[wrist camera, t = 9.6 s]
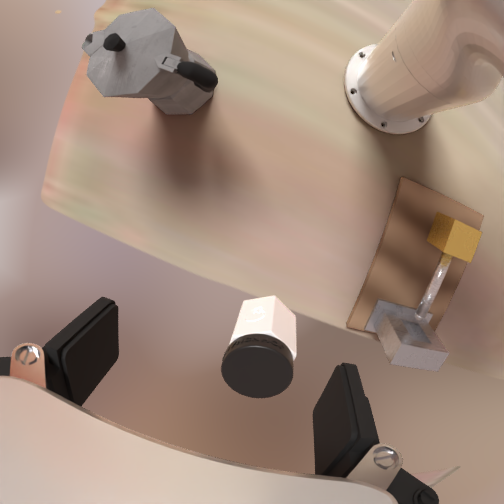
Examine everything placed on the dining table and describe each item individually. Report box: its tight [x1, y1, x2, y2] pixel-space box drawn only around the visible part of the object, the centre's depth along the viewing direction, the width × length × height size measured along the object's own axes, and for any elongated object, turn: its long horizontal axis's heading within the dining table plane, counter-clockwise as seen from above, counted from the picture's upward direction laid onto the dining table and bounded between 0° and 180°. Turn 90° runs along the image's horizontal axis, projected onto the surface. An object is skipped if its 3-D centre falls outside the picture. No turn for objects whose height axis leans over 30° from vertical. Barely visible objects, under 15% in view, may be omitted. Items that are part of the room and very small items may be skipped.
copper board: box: [346, 177, 484, 334], centre depth 37 cm, size 22×15×1 cm
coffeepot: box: [82, 8, 218, 114], centre depth 25 cm, size 15×9×18 cm, turn 62°
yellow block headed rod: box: [415, 212, 482, 321], centre depth 31 cm, size 14×5×5 cm, turn 165°
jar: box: [221, 295, 297, 398], centre depth 36 cm, size 9×8×12 cm
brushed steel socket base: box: [364, 298, 449, 371], centre depth 34 cm, size 5×10×10 cm, turn 75°
